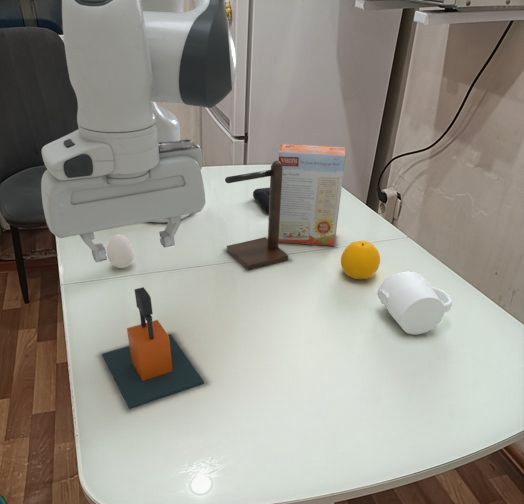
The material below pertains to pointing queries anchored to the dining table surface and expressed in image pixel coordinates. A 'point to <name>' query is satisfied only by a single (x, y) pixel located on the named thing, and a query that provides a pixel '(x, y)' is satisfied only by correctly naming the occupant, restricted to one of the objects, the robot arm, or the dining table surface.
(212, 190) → the dining table surface
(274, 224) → the hook stand
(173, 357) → the mat
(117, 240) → the egg
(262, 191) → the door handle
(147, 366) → the tall orange prism
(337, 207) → the cracker box
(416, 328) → the mug
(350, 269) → the orange round ball
